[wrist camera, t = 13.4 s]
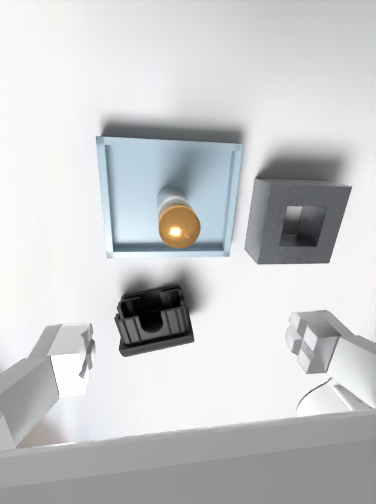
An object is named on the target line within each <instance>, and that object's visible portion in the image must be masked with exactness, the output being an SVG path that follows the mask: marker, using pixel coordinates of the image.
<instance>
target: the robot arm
mask: <svg viewBox="0 0 376 504" xmlns="http://www.w3.org/2000/svg"><path fill="white" fill-rule="evenodd" d="M289 321H290V323H291V325H290V326H289V327H288V328H287V331H286V342H287V345H288V347H289V349H290V350H291V352H293V353H294V354H296V355H297V356H298V358H297V361H298V362H299V364H300V365H301V367H302V368H303V370H304V371H305V373H306V374H314V373H327V375H329V376H330V377H331V378H332V379H331V380H329V381H328V382H327V383H326V384H324V385H323V386H321V387H319V388H317V389H315V390H313V391H312V392H311V393H309V394H308V395H307V396H306V397H305V398H304V399H303V400H302V401H301V402H300V404H299V406H298V408H297V412H296V416H297V417H292V418H284V419H275V420H266V421H257V422H248V423H240V424H231V425H222V426H213V427H204V428H195V429H187V430H178V431H169V432H160V433H151V434H143V435H134V436H125V437H116V438H107V439H99V440H90V441H81V442H72V443H63V444H55V445H46V446H37V447H28V448H20V449H16V446H17V445H18V444H19V443H20V442H21V440H22V439H23V438H24V437H25V436H26V435H27V434H28V433H29V432H30V430H31V429H32V428H33V427H34V426H35V425H36V424H37V423H38V422H39V420H40V419H41V418H42V417H43V416H44V415H45V414H46V413H47V412H48V411H49V409H50V408H51V407H52V406H53V405H54V404H55V403H56V402H57V401H58V399H59V397H61V396H70V395H78V394H85V393H86V390H87V386H88V383H89V379H90V374H89V370H90V369H91V368H92V367H93V364H94V359H95V341H94V340H93V339H92V338H91V337H92V334H93V328H92V324H91V323H84V324H58V325H48V326H47V327H46V328H45V330H44V331H43V333H42V335H41V336H40V338H39V340H38V341H37V343H36V345H35V347H34V348H33V350H32V352H31V353H30V355H29V357H28V358H26V359H22V360H20V361H19V362H17V363H16V364H14V365H13V366H12V367H10V368H9V369H7V370H6V371H4V372H3V373H1V374H0V504H376V343H374V342H372V341H369V340H367V339H365V338H363V337H361V336H359V335H358V336H355V335H354V334H353V333H352V332H351V331H350V330H349V329H347V328H346V327H345V326H344V325H343V324H342V323H341V322H340V321H339V320H338V319H337V318H336V317H335V316H334V315H333V314H332V313H330V312H329V311H327V310H321V311H312V312H295V313H292V314H291V315H290V318H289Z"/></svg>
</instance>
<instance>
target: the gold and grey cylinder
mask: <svg viewBox="0 0 376 504" xmlns="http://www.w3.org/2000/svg"><path fill="white" fill-rule="evenodd" d="M157 214H158V228H159V235H160V237H161V239H162V240H163V242H164V243H165V244H167V245H168V246H170V247H173V248H185V247H188V246H190V245H192V244H193V243H194V242H195V241H196V240H197V238H198V237H199V234H200V230H201V225H200V221H199V219H198V217H197V215H196V214H195V212H194V210H193V209H192V207H191V206H190V204H189V202H188V201H187V199H186V197H185V196H184V194H183V192H182V191H181V190H180V189H178V188H176V187H166V188H164V189H162V190H161V191H160V192H159V194H158V196H157Z"/></svg>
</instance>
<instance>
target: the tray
mask: <svg viewBox="0 0 376 504" xmlns="http://www.w3.org/2000/svg"><path fill="white" fill-rule="evenodd" d="M96 144H97V155H98V166H99V176H100V187H101V198H102V209H103V220H104V230H105V241H106V252H107V258H144V257H229V255H230V247H231V239H232V231H233V222H234V214H235V206H236V198H237V190H238V182H239V174H240V166H241V157H242V149H243V144H236V143H217V142H198V141H178V140H159V139H140V138H120V137H101V136H96ZM166 187H176V188H178V189H180V190H181V191H182V192H183V194H184V196H185V197H186V199H187V201H188V202H189V204H190V206H191V207H192V209H193V210H194V212H195V214H196V215H197V217H198V219H199V221H200V225H201V230H200V234H199V237H198V238H197V240H196V241H195V242H194V243H193V244H192V245H190V246H188V247H185V248H173V247H170V246H168V245H167V244H165V243H164V242H163V240H162V239H161V237H160V235H159V228H158V214H157V196H158V194H159V192H160V191H161V190H162V189H164V188H166Z"/></svg>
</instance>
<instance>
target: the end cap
mask: <svg viewBox="0 0 376 504" xmlns="http://www.w3.org/2000/svg"><path fill="white" fill-rule="evenodd" d="M117 310H118V313H119V314H116V316H115V318H114V319H115V322H116V325H117V327H118V330H119V333H120V336H121V339H120V345H119V351H120V353H121V355H122V356H123V357H128V356H133V355H137V354H142V353H146V352H151V351H155V350H160V349H165V348H169V347H174V346H178V345H183V344H188V343H192V342H194V335H193V330H192V325H191V321H190V316H189V311H188V308H187V307H186V304H185V299H184V294H183V293H182V292H181V287H180V286H179V285H172V286H167V287H163V288H158V289H153V290H148V291H143V292H138V293H133V294H129V295H124V296H122V297H121V301H120V302H119V304H118V306H117Z"/></svg>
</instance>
